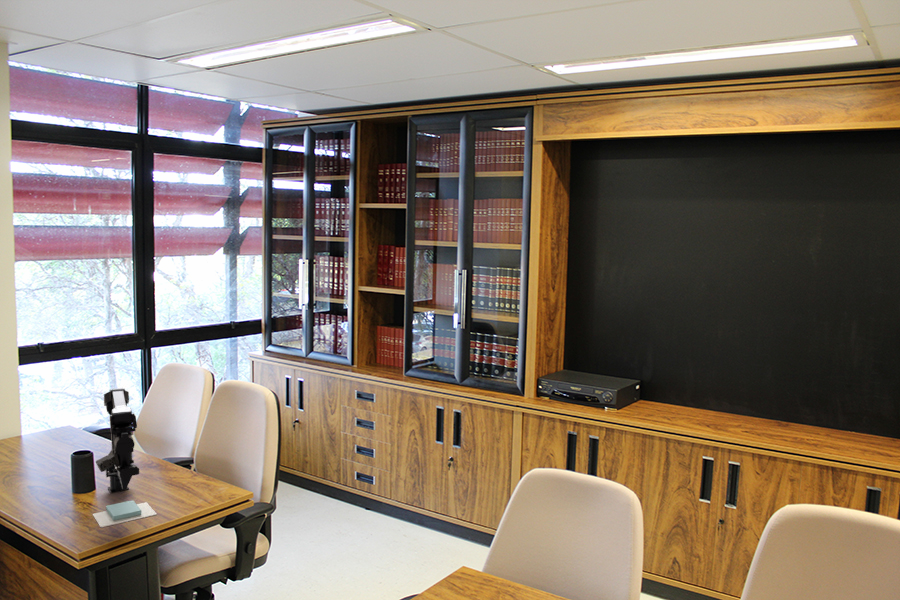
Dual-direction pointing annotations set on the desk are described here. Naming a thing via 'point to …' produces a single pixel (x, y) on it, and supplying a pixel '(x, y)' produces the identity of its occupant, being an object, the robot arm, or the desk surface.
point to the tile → (123, 510)
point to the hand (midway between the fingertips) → (124, 489)
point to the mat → (106, 519)
